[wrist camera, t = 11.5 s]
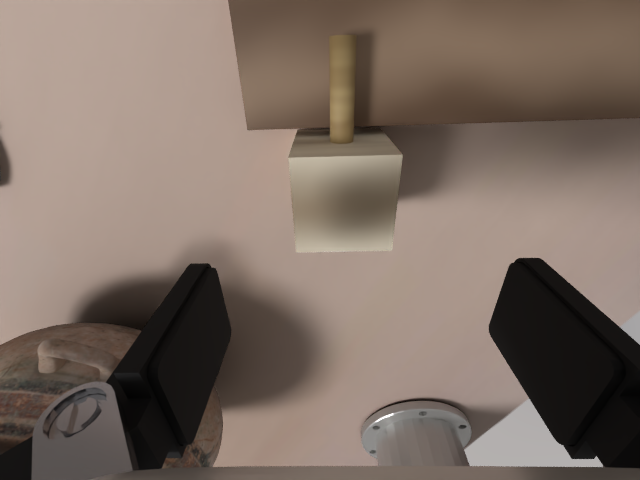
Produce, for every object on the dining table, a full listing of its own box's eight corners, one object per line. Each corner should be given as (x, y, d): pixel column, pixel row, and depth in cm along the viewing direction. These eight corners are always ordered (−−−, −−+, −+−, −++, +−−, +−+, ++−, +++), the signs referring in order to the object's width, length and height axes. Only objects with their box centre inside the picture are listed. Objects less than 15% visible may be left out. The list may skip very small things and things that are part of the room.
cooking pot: (6, 220, 22) (-290, 373, 11) (264, 283, 24) (221, 451, 14) (54, 407, 34) (-64, 562, 24) (222, 434, 37) (182, 583, 26)
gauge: (374, 203, 21) (391, 250, 16) (302, 204, 21) (296, 252, 16) (386, 38, 16) (417, 28, 11) (292, 41, 16) (278, 33, 11)
